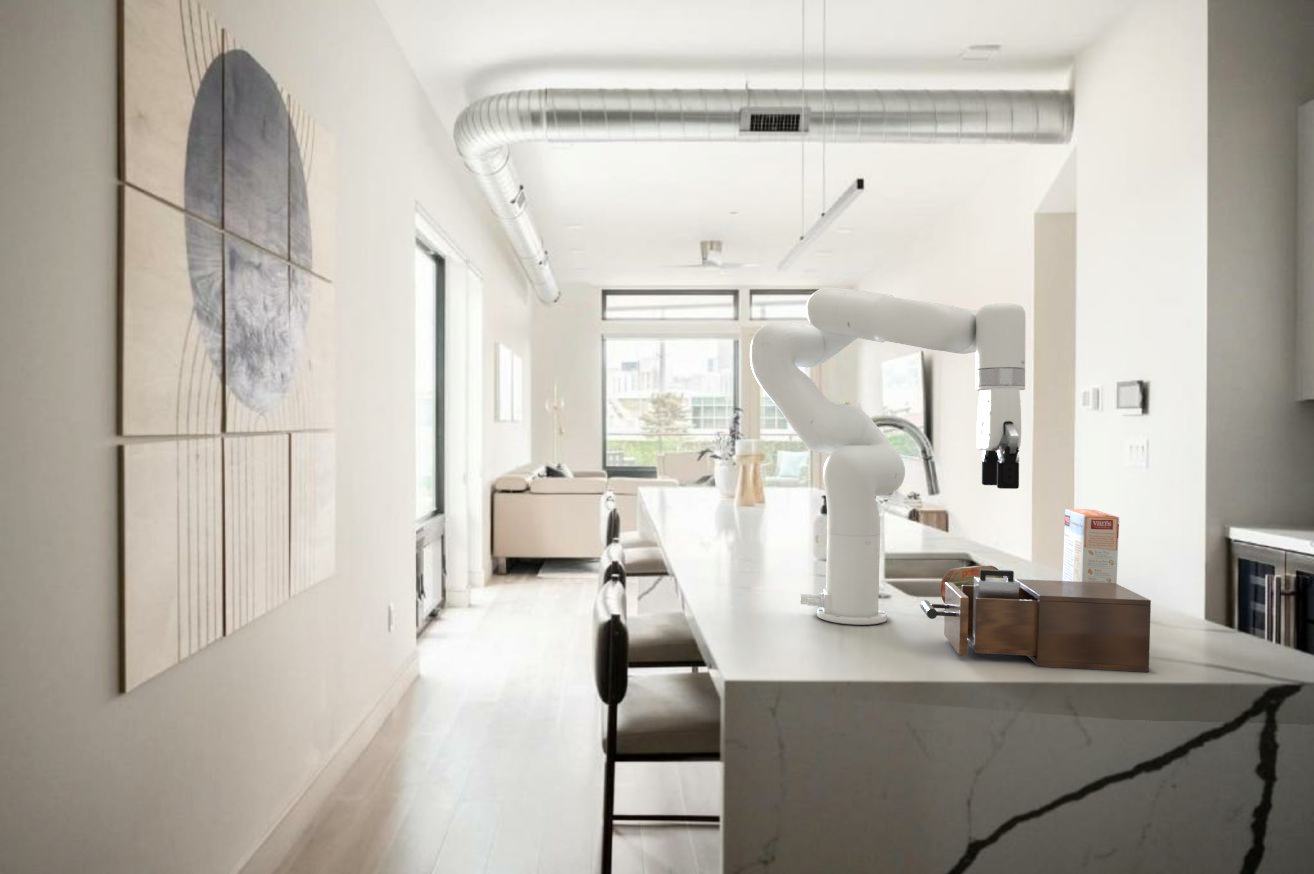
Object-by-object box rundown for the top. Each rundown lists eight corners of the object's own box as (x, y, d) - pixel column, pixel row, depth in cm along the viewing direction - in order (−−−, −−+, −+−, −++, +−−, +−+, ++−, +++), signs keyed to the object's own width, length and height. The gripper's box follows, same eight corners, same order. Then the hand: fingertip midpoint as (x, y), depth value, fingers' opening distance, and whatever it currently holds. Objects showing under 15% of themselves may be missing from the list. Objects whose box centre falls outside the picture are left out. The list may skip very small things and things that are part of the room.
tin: (949, 613, 174) (950, 569, 174) (937, 610, 177) (938, 566, 177) (1005, 607, 181) (1006, 565, 181) (993, 604, 184) (994, 562, 183)
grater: (977, 641, 143) (979, 571, 143) (972, 636, 147) (974, 567, 147) (1017, 643, 142) (1019, 573, 142) (1011, 638, 146) (1013, 569, 146)
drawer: (929, 653, 139) (930, 596, 139) (916, 633, 153) (917, 581, 153) (1059, 660, 137) (1061, 601, 137) (1035, 639, 150) (1037, 585, 150)
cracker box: (1117, 639, 155) (1121, 516, 155) (1079, 637, 156) (1082, 514, 156) (1095, 622, 169) (1098, 508, 168) (1060, 620, 170) (1063, 507, 170)
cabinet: (1037, 666, 137) (1039, 595, 136) (1013, 643, 151) (1015, 579, 151) (1149, 672, 135) (1151, 600, 134) (1113, 648, 149) (1115, 583, 149)
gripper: (964, 384, 158) (963, 483, 158) (989, 377, 140) (989, 489, 140) (1009, 384, 157) (1009, 484, 157) (1040, 377, 140) (1040, 490, 140)
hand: (999, 486), depth 149 cm, fingers open, 9 cm apart
